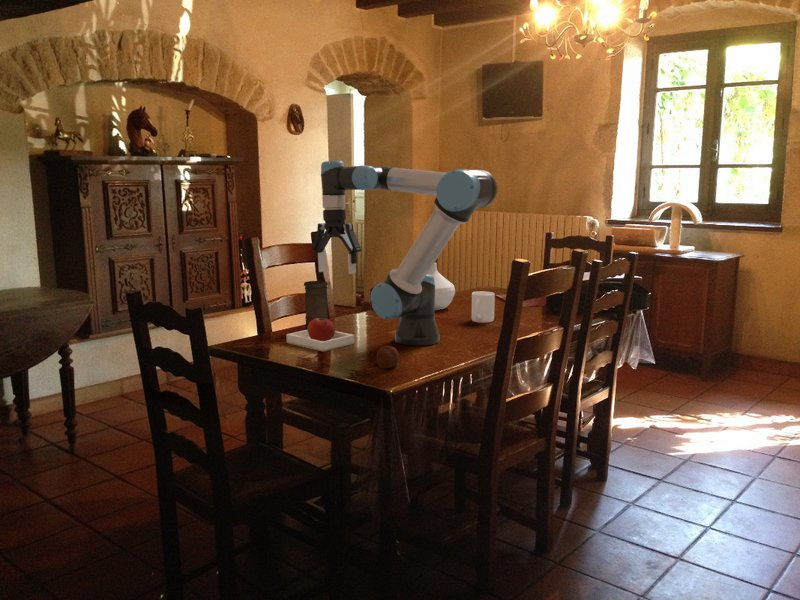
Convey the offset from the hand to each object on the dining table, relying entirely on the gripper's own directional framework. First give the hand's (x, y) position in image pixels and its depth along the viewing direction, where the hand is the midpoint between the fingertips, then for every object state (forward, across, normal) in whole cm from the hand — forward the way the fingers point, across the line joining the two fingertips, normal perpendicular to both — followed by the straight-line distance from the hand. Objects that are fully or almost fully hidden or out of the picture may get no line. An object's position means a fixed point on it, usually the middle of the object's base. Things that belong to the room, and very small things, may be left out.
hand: (337, 272), depth 235 cm
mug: (+24, -22, -55) cm, 64 cm away
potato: (+24, -33, +16) cm, 44 cm away
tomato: (+23, +2, +7) cm, 24 cm away
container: (+23, +15, -5) cm, 28 cm away
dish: (+23, +2, +7) cm, 24 cm away
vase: (+23, +8, -66) cm, 71 cm away
